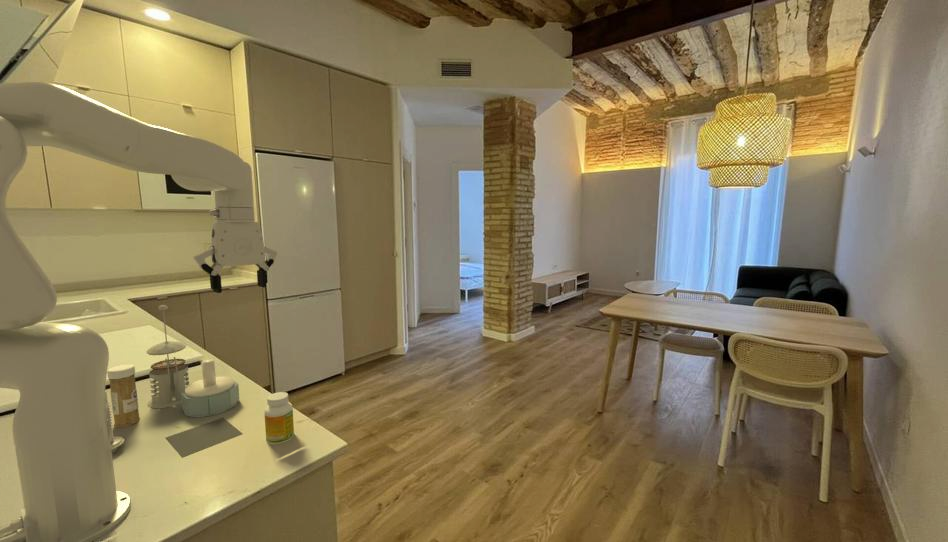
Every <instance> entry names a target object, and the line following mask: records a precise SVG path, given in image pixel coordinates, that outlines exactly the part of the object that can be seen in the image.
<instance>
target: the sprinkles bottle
mask: <svg viewBox="0 0 948 542" xmlns="http://www.w3.org/2000/svg"><path fill="white" fill-rule="evenodd" d="M135 374H136V368H135V364H121V365H119V364H118V365H117V366H113V367H110V368H109V369H107V378H108V380H109V387H110V399H111V406H112V407H111V408H112V413H113V420H114V424H113V426H114V427H115V428H125V427H129V426H132V425H134V424H136V423H138V422H139V421H140V420H141V418H140V413H139V402H138V401H139V399H138V391H137V386H136V377H135Z"/></svg>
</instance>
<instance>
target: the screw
mask: <svg viewBox="0 0 948 542" xmlns="http://www.w3.org/2000/svg"><path fill="white" fill-rule="evenodd" d="M105 397H106V409H107V418H108V426H109V434H110V442H111V451H112V454H114V453H116V452H117V451H118V449H119V447H120V446H122V445H123V444H124V443H125V437H122V436H117V435H115V436H114V433H113V432H114V429H113V426H114V424H113V422H112V421H113V420H112V418H113V417H112V411H111V405H110V402H109V401H108V394H107V392H106V391H105Z"/></svg>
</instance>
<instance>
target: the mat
mask: <svg viewBox="0 0 948 542" xmlns="http://www.w3.org/2000/svg"><path fill="white" fill-rule="evenodd" d="M243 434H244V433H243V432H242V431H240V430H239V429H238V428H237V427H235V426H234V425H233V424H231V422H229V421H228V420H227V419H226V418H225V417H220V418H217V419H215V420H211V421H209V422H206V423H204V424H200V425H199V426H194V427H192V428H189V429H186V430H184V431H180V432H178V433H175V434H172V435H169V436H166V437H165V439H166V441H167V442H168V443H169V444H170V445H171V447H172V448H173V449H174V450H175V451H176V452H177V454H178V455H179V456H180V457H181V458H184V457H187V456H190V455H193V454H195V453H197V452H200V451H203V450H205V449H208V448H211V447H213V446H216V445H218V444H221V443H223V442H226V441H228V440H230V439H234V438H236V437H238V436H241V435H243Z"/></svg>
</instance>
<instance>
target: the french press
mask: <svg viewBox="0 0 948 542" xmlns="http://www.w3.org/2000/svg"><path fill="white" fill-rule="evenodd" d="M168 309H169V307H168V305H166V304H162V305H159V306H158V311H162V315H163V326H164V336H165V341H163V342H160V343H157V344H155V345H153V346H152V347H150V348H148V349H147V350H146V351H145V352H146V354H147V355H149V356H165V355H166V357H167V358H165V359H164V360H160V361H157V362H154V363H153V364H151V365H150V369H151V370H150V371H149V372H148V373H149V379H152V380H149V383H150V385H149V386H150V392H151V396H150V397H151V399H150V400H149V401H148V402H147V407H149V408H150V407H152V408H151V409H165V408H166V407H167V408H170V407H169V406H172V407H174V406H173V405H176V406H178V405H177V404H179V405H181V404H180V403H182V401H181V393H182V392H183V391H185V388H186V387H187V386H188V385H189V384H190V378H189V372H188V371H189V368H188V367H189V365H188V364H186V362H187V361H186V359H185V358H184V359H183V358H176V357H175V356H173V358H170V359H169V355H170V354H171V355H172V354H175V353H178V352H181V351H183V350H184V349H186V348H187V344H185V343H183V342H181V341H173V340H172V341H168V338H167V327H166V319H165V317H166V316H165V311H166V310H168ZM151 384H152V385H151ZM151 389H152V390H151Z"/></svg>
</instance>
